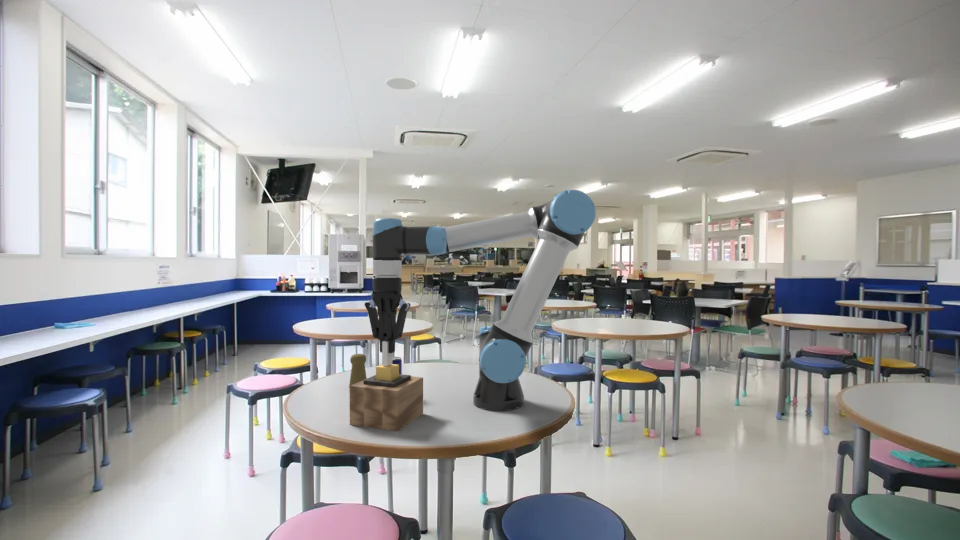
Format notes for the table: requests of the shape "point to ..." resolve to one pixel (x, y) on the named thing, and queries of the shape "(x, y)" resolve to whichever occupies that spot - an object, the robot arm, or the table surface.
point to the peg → (387, 372)
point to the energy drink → (397, 361)
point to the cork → (357, 368)
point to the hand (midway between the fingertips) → (387, 364)
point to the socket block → (386, 402)
